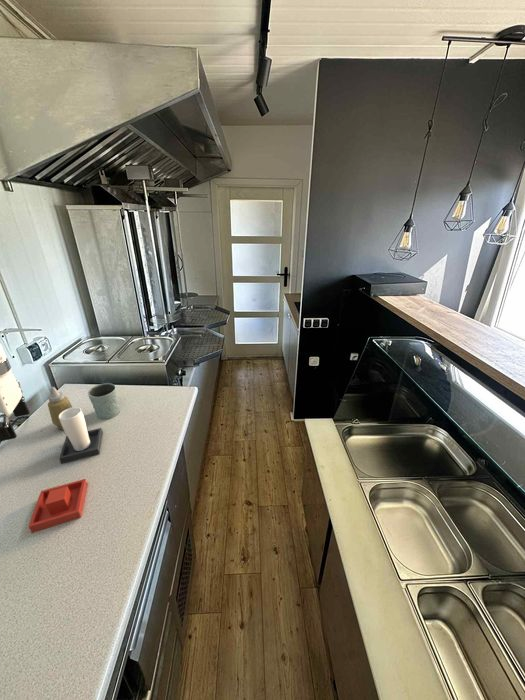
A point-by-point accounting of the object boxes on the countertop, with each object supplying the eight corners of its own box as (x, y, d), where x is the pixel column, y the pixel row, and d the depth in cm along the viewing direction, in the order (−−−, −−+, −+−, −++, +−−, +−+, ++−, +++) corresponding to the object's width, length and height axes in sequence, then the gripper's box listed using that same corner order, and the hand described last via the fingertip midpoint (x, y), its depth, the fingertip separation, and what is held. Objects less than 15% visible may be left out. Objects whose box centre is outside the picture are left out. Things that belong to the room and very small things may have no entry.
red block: (50, 515, 80) (45, 504, 78) (54, 501, 83) (49, 490, 81) (69, 509, 81) (64, 498, 79) (72, 496, 85) (67, 485, 83)
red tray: (31, 533, 76) (28, 527, 75) (43, 496, 85) (41, 490, 84) (81, 517, 79) (78, 511, 78) (87, 484, 89) (85, 478, 88)
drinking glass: (70, 445, 103) (56, 412, 97) (91, 436, 107) (79, 404, 101) (73, 456, 99) (59, 422, 92) (95, 447, 103) (83, 413, 96)
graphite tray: (61, 463, 97) (58, 458, 95) (68, 440, 106) (66, 435, 105) (99, 454, 100) (97, 448, 99) (103, 432, 110) (101, 427, 109)
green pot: (98, 408, 124) (91, 384, 119) (124, 404, 126) (117, 381, 121) (93, 423, 115) (84, 398, 110) (120, 418, 117) (113, 394, 112)
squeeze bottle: (53, 424, 114) (37, 387, 107) (76, 416, 119) (62, 379, 111) (57, 435, 109) (40, 396, 101) (81, 425, 114) (67, 387, 106)
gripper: (-15, 355, 73) (11, 410, 80) (-53, 392, 58) (-18, 454, 66) (21, 351, 75) (43, 404, 82) (-7, 385, 61) (22, 445, 68)
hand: (16, 426), depth 74 cm, fingers open, 9 cm apart
